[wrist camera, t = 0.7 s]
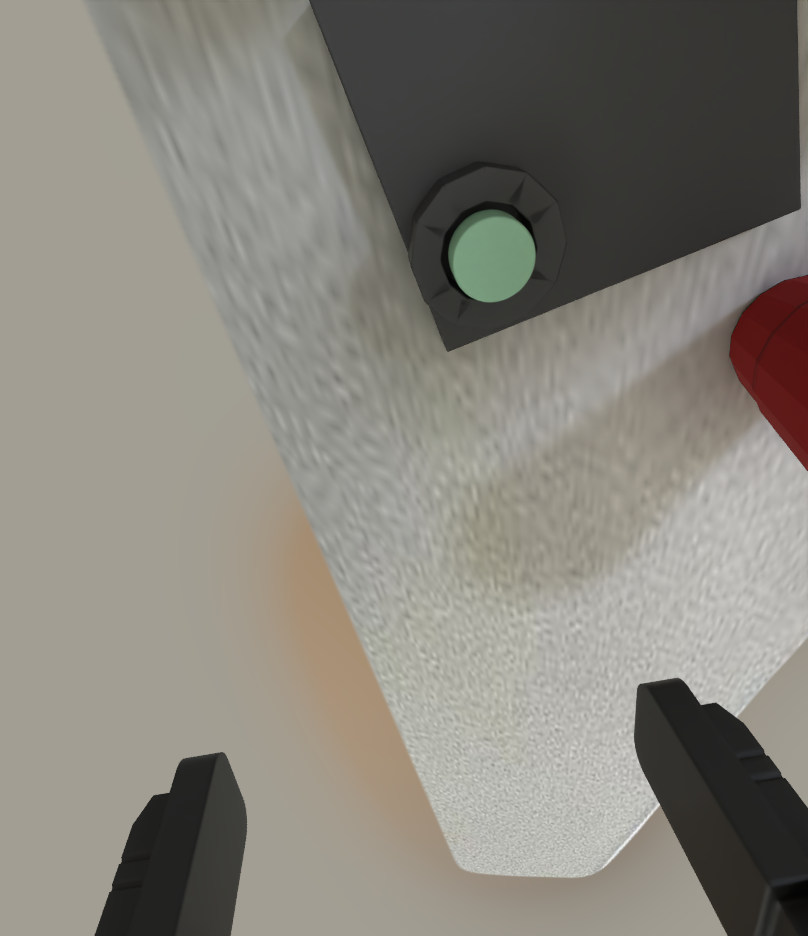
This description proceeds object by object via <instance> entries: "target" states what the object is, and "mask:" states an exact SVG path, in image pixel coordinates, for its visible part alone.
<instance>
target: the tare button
mask: <svg viewBox="0 0 808 936" xmlns="http://www.w3.org/2000/svg"><path fill="white" fill-rule="evenodd" d="M535 258H536V251H535V245H534V241H533V239H532V236H531V235H530V233H529V231H528V230H527V229H526V228H525V227H524V226H523V225H522V224H521V223H520V222H519V221H518V220H517V219H515V218H514V217H513V216H512V215H510V214H508V213H506V212H504V211H500V210H494V209H489V210H482V211H479V212H476V213H474V214H472V215H470V216H469V217H467V218H466V219H465V220H464V221H463V222H461V224H460V225H459V226H458V227H457V229H456V230H455V232H454V234H453V236H452V238H451V241H450V244H449V250H448V260H449V265H450V268H451V271H452V273H453V275H454V277H455V279H456V282H457V283H458V285H459V287H460V288H461V289H462V290H463V291H464V292H465V293H466V294H467V295H468V296H470V297H471V298H473V299H475V300H478V301H482V302H498V301H502V300H505V299H507V298H509V297H511V296H513V295H514V294H516V293H517V292H518V291H520V290H521V289H522V287H523V286H524V285H525V284H526V283H527V281H528V280H529V278H530V276H531V274H532V272H533V269H534V265H535Z"/></svg>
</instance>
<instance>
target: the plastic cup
mask: <svg viewBox="0 0 808 936" xmlns="http://www.w3.org/2000/svg"><path fill="white" fill-rule="evenodd" d="M729 356H730V359H731V361H732V364H733V366H734V369H735V371H736V373H737V376H738V379H739V381H740V382H741V383H742V384H743V386H744V387H745V388H746V390H747V391H748V392H749V393H750V395H751V396H752V397H753V399H754V400H755V401H756V402H757V404H758V407H759V409H760V411H761V413H762V414H763V415H764V417H765V418H766V419H767V420H768V422H769V423H770V424H771V425H772V427H773V428H774V429H775V430H776V432H777V433H778V434H779V436H780V437H781V438H782V439H783V441H784V442H785V443H786V444H787V446H788V447H789V448H790V450H791V451H792V452H793V453H794V455H795V456H796V457H797V458H798V460H799V461H800V462H801V464H802V465H803V466H804V467H805V469H806V470H807V471H808V275H807V276H802V277H798V278H793V279H789V280H784V281H783V282H781V283H779V284H777V285H776V286H774V287H772V288H771V289H769V290H767V291H766V292H764V293H762V294H761V295H760V296H759V297H758V298H757V299H756V300H755V301H754V302H753V303H752V304H751V305H750V306H749V307H748V308H747V309H746V310H745V311H744V313H743V314H742V316H741V318H740V319H739V321H738V323H737V325H736V327H735V329H734V331H733V333H732V336H731V345H730V355H729Z"/></svg>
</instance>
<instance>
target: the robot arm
mask: <svg viewBox="0 0 808 936" xmlns="http://www.w3.org/2000/svg"><path fill="white" fill-rule="evenodd" d="M634 742H635V748H636V753H637V756H638V760H639V763H640V765H641V768H642V770H643V772H644V774H645V776H646V778H647V780H648V782H649V784H650V786H651V788H652V790H653V792H654V794H655V796H656V798H657V800H658V801H659V803H660V805H661V807H662V809H663V811H664V813H665V815H666V817H667V819H668V821H669V823H670V824H671V826H672V828H673V830H674V833H675V834H676V836H677V838H678V840H679V842H680V844H681V846H682V848H683V850H684V852H685V854H686V856H687V857H688V860H689V862H690V863H691V866H692V867H693V869H694V871H695V873H696V875H697V877H698V879H699V881H700V883H701V885H702V887H703V889H704V891H705V893H706V895H707V896H708V898H709V900H710V902H711V904H712V906H713V908H714V910H715V912H716V914H717V916H718V918H719V920H720V922H721V924H722V926H723V927H724V929H725V931H726V933H727V935H728V936H808V808H807V806H806V805H805V804H804V802H803V801H802V800H801V798H800V797H799V796H798V794H797V793H796V792H795V790H794V789H793V788H792V787H791V785H790V784H789V783H788V781H787V780H786V779H785V778H783V777H782V776H781V772H780V771H779V769H778V768H777V767H776V765H775V764H774V763H773V761H772V760H771V759H770V757H769V756H766V755H765V753H764V749H763V748H762V747H761V745H760V744H759V743H758V742H757V740H756V739H755V737H754V736H753V735H752V733H751V732H750V731H749V729H748V728H747V727H746V726H745V724H744V723H743V722H741V721H740V720H739V719H737V718H736V717H735V716H733V715H732V714H731V713H729V712H728V711H727V710H725V709H724V708H723V707H721V706H720V705H719V704H717V703H711V704H705V705H700V703H699V702H698V700H697V699H696V697H695V696H694V695H693V693H692V692H691V690H690V689H689V687H688V686H687V685H686V683H685V682H684V681H682V680H681V679H679V678H673V679H667V680H661V681H655V682H649V683H643V684H640V685H639V686H638V688H637V699H636V715H635V730H634ZM246 833H247V816H246V808H245V803H244V800H243V797H242V795H241V792H240V789H239V787H238V784H237V782H236V779H235V776H234V774H233V771H232V769H231V766H230V764H229V761H228V759H227V756H226V755H225V753H223V752H220V753H215V754H209V755H203V756H197V757H191V758H185V759H183V760H182V761H181V762H180V763H179V765H178V767H177V770H176V773H175V777H174V780H173V783H172V787H171V790H170V793H166V794H159V795H154V796H153V797H152V798H151V800H150V801H149V802H148V804H147V806H146V807H145V808H144V810H143V811H142V812H141V814H140V815H139V817H138V818H137V820H136V821H135V822H134V824H133V825H132V828H131V831H130V834H129V837H128V840H127V843H126V846H125V849H124V852H123V854H122V857H121V858H122V862H121V864H119V866H118V869H117V872H116V875H115V878H114V881H113V884H112V891H111V892H109V895H108V898H107V901H106V904H105V907H104V910H103V913H102V916H101V919H100V921H99V924H98V927H97V930H96V933H95V936H230V935H231V930H232V924H233V917H234V911H235V905H236V898H237V892H238V885H239V879H240V873H241V867H242V861H243V854H244V848H245V841H246Z"/></svg>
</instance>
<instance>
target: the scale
mask: <svg viewBox="0 0 808 936" xmlns="http://www.w3.org/2000/svg"><path fill="white" fill-rule="evenodd" d="M309 1H310V4H311V6H312V9H313V11H314V14H315V16H316V19H317V21H318V24H319V27H320V29H321V32H322V34H323V37H324V39H325V42H326V44H327V47H328V50H329V52H330V55H331V57H332V60H333V62H334V65H335V67H336V70H337V72H338V75H339V78H340V80H341V83H342V85H343V88H344V90H345V93H346V95H347V98H348V100H349V103H350V106H351V108H352V111H353V113H354V116H355V118H356V121H357V123H358V126H359V128H360V131H361V134H362V136H363V139H364V141H365V144H366V146H367V149H368V151H369V154H370V157H371V159H372V162H373V164H374V167H375V169H376V172H377V174H378V177H379V179H380V182H381V185H382V187H383V190H384V192H385V195H386V197H387V200H388V202H389V205H390V207H391V210H392V213H393V215H394V218H395V220H396V223H397V225H398V228H399V230H400V233H401V235H402V238H403V241H404V243H405V246H406V248H407V251H408V257H409V261H410V265H411V268H412V271H413V273H414V276H415V278H416V281H417V283H418V286H419V288H420V291H421V293H422V296H423V298H424V301H425V302H426V303H427V304H428V305H429V307H430V309H431V312H432V314H433V317H434V320H435V322H436V325H437V327H438V330H439V332H440V335H441V337H442V340H443V342H444V345H445V348H446V350H447V352H449V351H451V350H454V349H456V348H459V347H461V346H464V345H466V344H469V343H471V342H473V341H476V340H478V339H481V338H483V337H486V336H488V335H491V334H493V333H496V332H498V331H501V330H503V329H506V328H508V327H510V326H513V325H515V324H518V323H520V322H523V321H525V320H528V319H530V318H533V317H535V316H538V315H540V314H543V313H545V312H547V311H550V310H552V309H555V308H557V307H560V306H562V305H565V304H567V303H570V302H572V301H575V300H577V299H580V298H582V297H584V296H587V295H589V294H592V293H594V292H597V291H599V290H602V289H604V288H607V287H609V286H612V285H614V284H617V283H619V282H622V281H624V280H626V279H629V278H631V277H634V276H636V275H639V274H641V273H644V272H646V271H649V270H651V269H654V268H656V267H659V266H661V265H663V264H666V263H668V262H671V261H673V260H676V259H678V258H681V257H683V256H686V255H688V254H691V253H693V252H696V251H698V250H700V249H703V248H705V247H708V246H710V245H713V244H715V243H718V242H720V241H723V240H725V239H728V238H730V237H733V236H735V235H737V234H740V233H742V232H745V231H747V230H750V229H752V228H755V227H757V226H760V225H762V224H765V223H767V222H770V221H772V220H774V219H777V218H779V217H782V216H784V215H787V214H789V213H792V212H794V211H797V210H799V209H801V194H800V139H799V84H798V28H797V0H309ZM489 209H494V210H500V211H504V212H506V213H508V214H510V215H512V216H513V217H514V218H515V219H517V220H518V221H519V222H520V223H521V224H522V225H523V226H524V227H525V228H526V229H527V230H528V231H529V233H530V235H531V236H532V239H533V241H534V245H535V251H536V258H535V265H534V269H533V272H532V274H531V276H530V278H529V280H528V281H527V283H526V284H525V285H524V286H523V287H522V289H521V290H520V291H518V292H517V293H516V294H514V295H513V296H511V297H509V298H507V299H505V300H502V301H498V302H482V301H478V300H475V299H473V298H471V297H470V296H468V295H467V294H466V293H465V292H464V291H463V290H462V289H461V288H460V287H459V285H458V283H457V282H456V279H455V277H454V275H453V273H452V271H451V268H450V265H449V260H448V250H449V244H450V241H451V238H452V236H453V234H454V232H455V230H456V229H457V227H458V226H459V225H460V224H461V222H463V221H464V220H465V219H466V218H467V217H469V216H470V215H472V214H474V213H476V212H479V211H482V210H489Z"/></svg>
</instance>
